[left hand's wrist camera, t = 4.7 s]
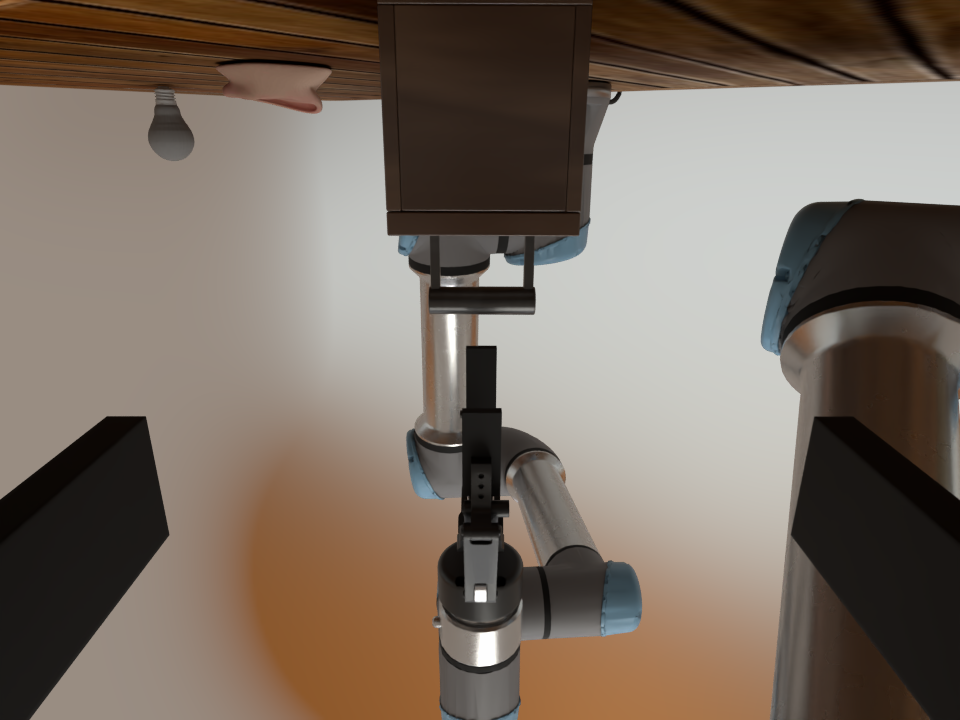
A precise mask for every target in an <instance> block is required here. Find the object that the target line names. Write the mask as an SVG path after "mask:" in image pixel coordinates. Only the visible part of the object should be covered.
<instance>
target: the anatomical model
mask: <svg viewBox="0 0 960 720" xmlns="http://www.w3.org/2000/svg"><path fill="white" fill-rule="evenodd" d="M216 69H217V70H218V71H219V72H220V73H221V74H223V75H224V76H225V77H226V78H228V80H229V83H228V84H227V85H225V86H224V87H223V94H224V95H225V96H227V97H232V98H242V99H247V100H254V101H259V102H264V103H268V104H272V105H276V106H280V107H284V108H288V109H292V110H296V111H301V112H305V113H312V114H315V113H319V112H321V110H322V102H321V99H320V98H319V96H318V95H317V93H316V91H317V89H318V87H319V86H320V85H321V84H322V83H323V82H324V81H325V80H326V79H327V78H328V76H329V75H330V74H331V72H332V71H331V70H330V69H328V68H323V67H317V66H307V65H294V64H280V63H260V62H247V63H235V64H226V65H220V66H217V67H216Z"/></svg>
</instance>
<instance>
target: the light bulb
mask: <svg viewBox="0 0 960 720" xmlns="http://www.w3.org/2000/svg"><path fill="white" fill-rule="evenodd" d="M154 91H155V94H156V96H155V97H156V106H155V109H154V113H155V115H154V118H153V121H152V124H151V126H150V129H149V132H148V140H149V143H150V146H151V147H152V149H153V150H154V151H155V153H157V154H158V155H159V156H160V157H162V158H164V159H166V160H170V161H179V160H182V159H184V158H186V157H187V156H188V155H189V154H190V153H191V151H192V149H193V147H194V137H193V134H192V132H191V130H190V128H189V127H188V125H187V124H186V123H185V121H184V120H183V118H182V116H181V114H180V110H179V108H178V106H177V104H176V101H175V100H174V99H175V98H174V96H175V95H174V93H175V91H174V90H173V89H171V88H169V87H167V86H159V87H158V88H156V89H154Z"/></svg>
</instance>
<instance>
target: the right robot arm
mask: <svg viewBox="0 0 960 720" xmlns="http://www.w3.org/2000/svg"><path fill="white" fill-rule="evenodd" d="M621 93H622V92H617V94H616V96H615V97H614V98H613V99H612V100H610V98H611V84H608V83H601V82H588V94H587V111H586V129H585V147H584V165H583V182H582V200H581V211H580V212H579V213H580V214H581V217H580V235H579V236H535V247H534V265H544V264H551V263H557V262H561V261H565V260H568V259H571V258H573V257H575V256H577V255H579V254H580V253H581V252H582V251H583V250H584V248H585V246H586V243H587V235H588V226H589V224H590V217H589V215H590V197H591V179H592V160H593V147H594V143H595V140H596V137H597V135H598V132H599V129H600V126H601V124H602V121H603V118H604V116H605V113H606V110H607V107H608V105H609V104H614V103H615V102H617V100H618V99H619V97H620V96H621ZM524 242H525V236H440V276H441V286H445V287H479V277H480V276H481V275H482V274H483V273H484V272H485V271H486V270H488V268H489V266H490V254H495V253H504V257H505V259H506V261H507V262H508V263H510V264H513V265H524ZM398 252H399V253H400V254H402V255H404V256H408V255H409V267H410V269H411V270H412V271H413V272H415V273H416V274H417V275H418V276H419V277H420V297H421V333H422V369H423V405H424V413H423V414H421V415H420V416H419V417H418V418H417V420H416V422H415V429H412V430H409V431H408V432H407V437H406V441H407V454H408V460H409V470H410V476H411V481H412V485H413V488H414V491H415V493H416V494H417V495H418V496H419V497H421V498H425V499H439V500H443V499H445V498H452V497H462V502H461V503H462V504H461V513H460V514H459V517H458V535H457V542H455V543H454V544H452V545H450V546H449V547H448V548H447V549H446V550H445V551H444V552H443V553H442V554H441V556H440V558H439V561H438V588H437V610H438V616H435V617H434V618H433V620H432V621H433V626H434V627H436V628H439V665H440V706H439V707H440V710H441V714H442V720H517V718H518V711H519V706H520V704H521V700H520V696H519V672H520V641H521V640H534V639H549V638H568V637H587V636H606V635H611V634H618V633H626V632H631V631H633V630H635V629H636V628H637V627H638V625H639V623H640V620H641V613H642V598H641V590H640V585H639V581H638V578H637V576H636V573H635V571H634V569H633V568H632V567H631V566H630V565H629V564H626V563H624V562H613V561H608V562H605V563H604V561H603V559H602V558H601V556H600V554H599V552H598V550H597V548H596V546H595V544H594V542H593V540H592V538H591V536H590V534H589V532H588V530H587V528H586V526H585V524H584V522H583V520H582V518H581V516H580V514H579V512H578V510H577V508H576V506H575V504H574V502H573V500H572V498H571V496H570V494H569V492H568V490H567V488H566V486H565V480H566V477H565V471H564V468H563V466H562V464H561V462H560V460H559V458H558V457H557V455H556V454H555V453H554V452H553V451H552V450H551V449H550V448H549V447H548V446H547V445H545V444H544V443H543V442H541V441H540V440H538V439H537V438H535V437H533V436H531V435H529V434H528V433H525V432H523V431H520V430H517V429H513V428H508V427H501V425H502V410H501V408H496V361H497V347H496V346H478V314H429V306H428V293H429V287H430V286H431V274H430V236H399V245H398ZM493 496H494V497H493ZM500 496H511V497H512V498H513V499H514V500H515V501H516V502H518V503H519V506H520V510H521V513H522V516H523V519H524V522H525V525H526V528H527V531H528V534H529V537H530V540H531V543H532V546H533V549H534V552H535V556H536V559H537V562H538V565H539V566H538V567H523V562H522V559H521V556H520V555H519V553H518V552H517V551H516V550H515V549H514V548H513V547H512V546H510V545H509V544H507V543H505V542H504V534H503V517H509V500H500ZM467 497H468V500H467Z"/></svg>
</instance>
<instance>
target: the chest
mask: <svg viewBox="0 0 960 720" xmlns="http://www.w3.org/2000/svg"><path fill="white" fill-rule="evenodd" d="M377 3H378V6H377V8H378V30H379V53H380V75H381V98H382V120H383V143H384V165H385V187H386V209H387V211H401V210H402V211H537V212H564V211H567V212H580V211H581V200H582V182H583V165H584V147H585V129H586V111H587V94H588V76H589V58H590V40H591V23H592V3H593V0H377Z"/></svg>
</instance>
